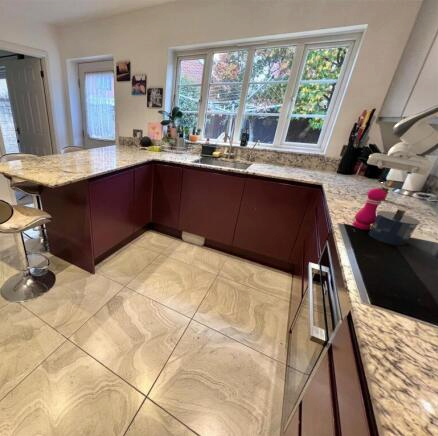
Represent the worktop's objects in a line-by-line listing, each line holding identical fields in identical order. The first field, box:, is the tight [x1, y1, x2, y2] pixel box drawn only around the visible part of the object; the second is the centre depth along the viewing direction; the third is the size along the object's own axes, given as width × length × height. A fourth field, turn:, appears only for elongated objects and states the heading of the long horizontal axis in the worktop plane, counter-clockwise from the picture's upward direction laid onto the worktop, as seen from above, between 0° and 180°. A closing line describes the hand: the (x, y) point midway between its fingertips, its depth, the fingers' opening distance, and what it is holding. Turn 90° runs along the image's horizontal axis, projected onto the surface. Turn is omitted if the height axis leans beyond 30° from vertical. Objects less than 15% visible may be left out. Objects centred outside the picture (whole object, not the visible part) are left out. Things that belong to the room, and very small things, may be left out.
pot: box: [368, 214, 418, 247], centre depth 96 cm, size 12×12×10 cm
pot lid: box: [376, 208, 421, 226], centre depth 93 cm, size 13×13×4 cm
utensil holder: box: [381, 180, 394, 201], centre depth 145 cm, size 6×6×12 cm
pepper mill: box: [352, 184, 387, 231], centre depth 103 cm, size 7×7×20 cm
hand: (395, 169), depth 101 cm, fingers open, 8 cm apart
